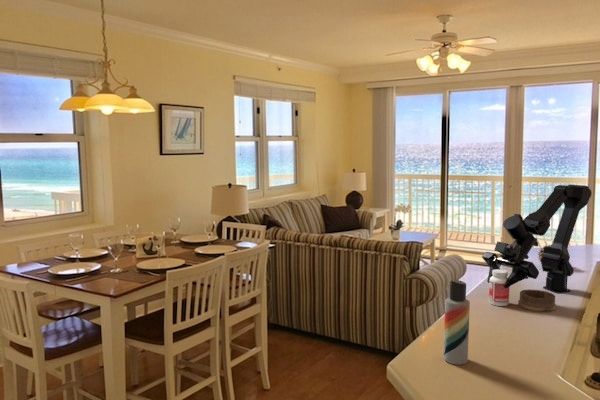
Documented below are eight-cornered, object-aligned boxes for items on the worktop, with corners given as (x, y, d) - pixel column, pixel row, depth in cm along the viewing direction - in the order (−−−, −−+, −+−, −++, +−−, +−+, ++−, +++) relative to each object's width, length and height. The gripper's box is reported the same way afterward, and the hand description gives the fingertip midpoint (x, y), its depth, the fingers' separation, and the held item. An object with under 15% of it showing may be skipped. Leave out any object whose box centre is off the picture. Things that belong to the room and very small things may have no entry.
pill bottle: (512, 304, 163) (514, 271, 162) (501, 307, 160) (502, 274, 159) (496, 299, 168) (497, 267, 167) (484, 302, 165) (485, 270, 164)
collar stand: (537, 299, 168) (538, 287, 168) (563, 309, 158) (564, 297, 157) (510, 302, 165) (511, 290, 165) (535, 313, 155) (536, 301, 154)
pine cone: (562, 272, 202) (564, 248, 201) (536, 270, 206) (537, 246, 205) (561, 261, 222) (562, 239, 220) (537, 258, 226) (538, 237, 225)
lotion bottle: (440, 355, 125) (442, 277, 122) (462, 354, 125) (464, 277, 123) (448, 365, 119) (451, 284, 117) (471, 364, 119) (474, 283, 117)
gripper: (486, 228, 171) (462, 263, 167) (535, 237, 155) (509, 276, 151) (501, 248, 176) (478, 283, 172) (549, 259, 160) (525, 298, 156)
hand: (496, 284), depth 163 cm, fingers closed on pill bottle, 6 cm apart
